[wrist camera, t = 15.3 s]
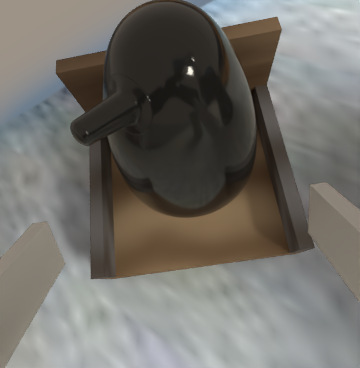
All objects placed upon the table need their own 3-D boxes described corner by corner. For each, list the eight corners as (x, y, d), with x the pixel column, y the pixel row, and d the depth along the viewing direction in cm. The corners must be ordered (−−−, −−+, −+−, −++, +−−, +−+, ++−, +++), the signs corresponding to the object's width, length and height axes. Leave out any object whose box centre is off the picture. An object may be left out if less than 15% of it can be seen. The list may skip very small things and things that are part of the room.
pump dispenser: (111, 185, 25) (-30, 58, 10) (179, 104, 27) (141, -96, 12) (201, 254, 22) (178, 208, 7) (271, 157, 24) (357, -26, 9)
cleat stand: (295, 253, 23) (353, 236, 13) (112, 278, 24) (46, 279, 14) (255, 104, 28) (277, 16, 19) (107, 130, 29) (56, 60, 20)
